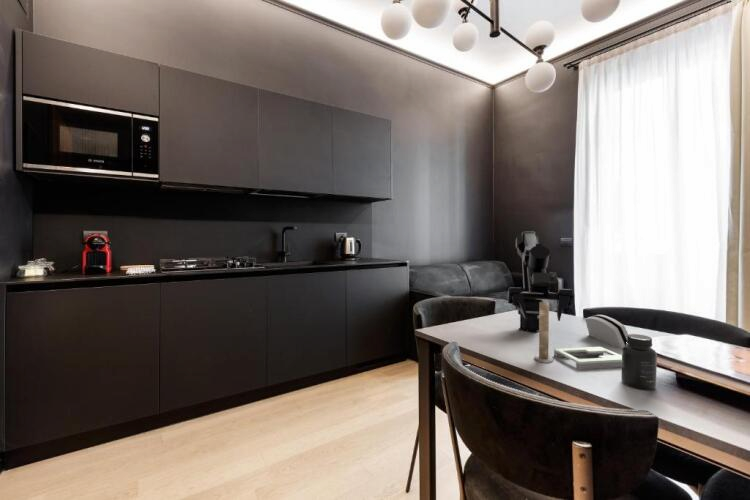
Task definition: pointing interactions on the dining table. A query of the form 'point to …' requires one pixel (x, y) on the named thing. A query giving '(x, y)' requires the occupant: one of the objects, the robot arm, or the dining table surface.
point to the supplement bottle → (639, 363)
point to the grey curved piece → (607, 330)
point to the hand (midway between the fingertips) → (542, 319)
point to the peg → (543, 334)
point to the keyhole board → (592, 363)
